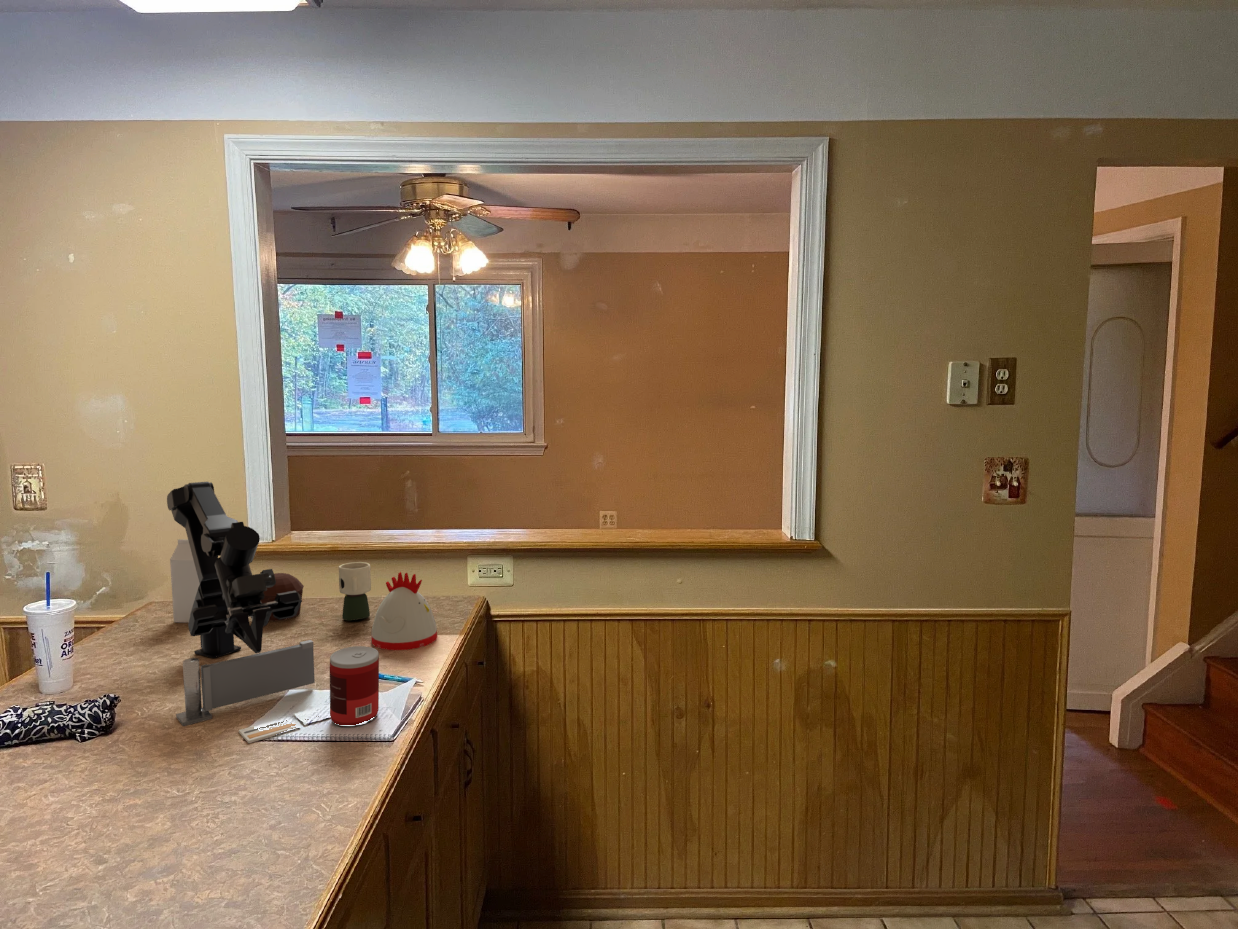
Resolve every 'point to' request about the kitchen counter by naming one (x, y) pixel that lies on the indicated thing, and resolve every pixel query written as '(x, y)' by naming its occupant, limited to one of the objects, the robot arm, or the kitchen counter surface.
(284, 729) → the label plate beige
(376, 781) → the kitchen counter surface
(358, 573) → the character mug
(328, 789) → the kitchen counter surface
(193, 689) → the hinge post
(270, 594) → the muffin
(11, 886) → the kitchen counter surface
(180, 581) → the milk carton
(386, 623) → the kitchen timer
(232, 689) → the hinge panel
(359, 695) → the canned food
